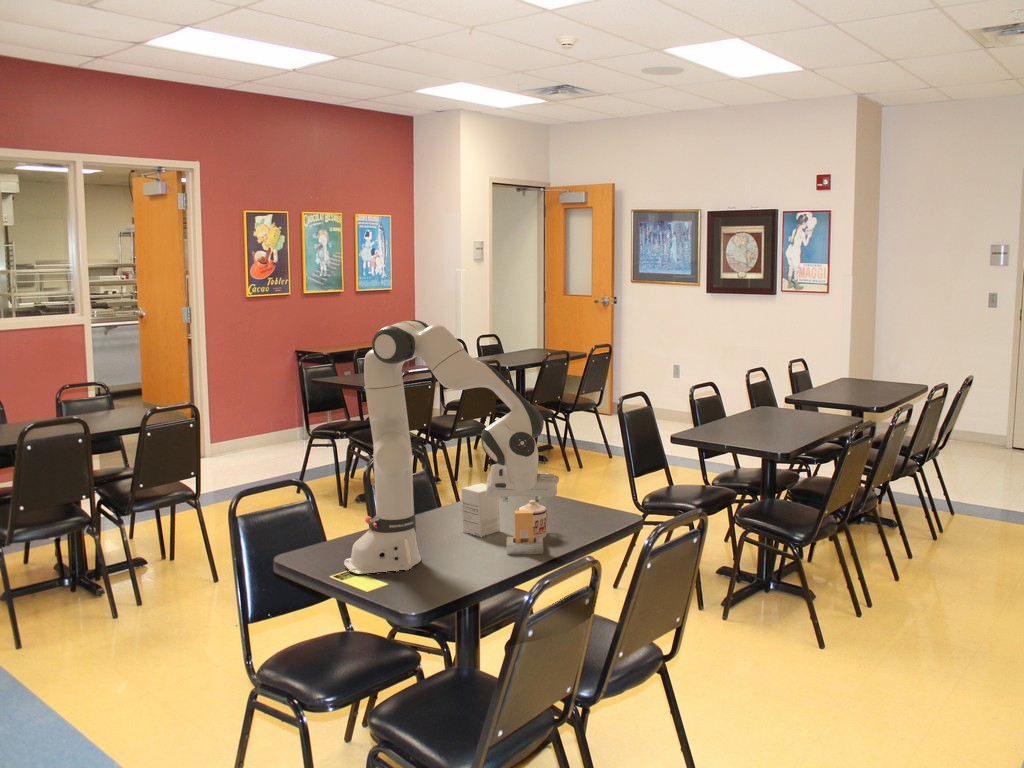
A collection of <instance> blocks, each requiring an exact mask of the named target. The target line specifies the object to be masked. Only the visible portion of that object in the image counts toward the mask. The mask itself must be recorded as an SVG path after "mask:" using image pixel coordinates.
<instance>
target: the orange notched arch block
mask: <svg viewBox="0 0 1024 768" xmlns="http://www.w3.org/2000/svg"><path fill="white" fill-rule="evenodd" d="M520 529H528V538H529V543H534V540H533V510H528V511H518V510H515V511H514V530H515V531H514V532H515V533H514V534H515V536H514V537H515V543H520Z"/></svg>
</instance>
